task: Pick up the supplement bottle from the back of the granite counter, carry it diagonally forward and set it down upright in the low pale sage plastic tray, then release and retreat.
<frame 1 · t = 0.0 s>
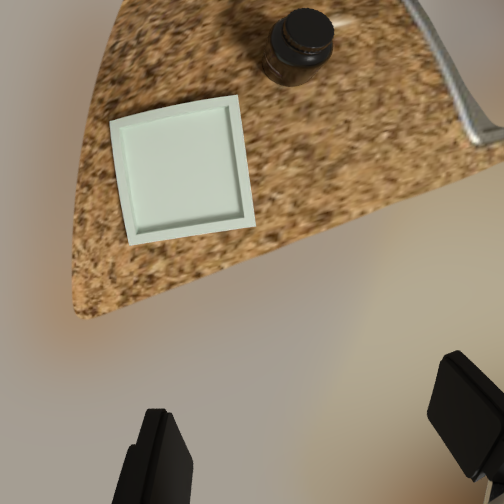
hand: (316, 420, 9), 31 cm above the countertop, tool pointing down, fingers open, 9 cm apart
supplement bottle: (288, 65, 34), on the countertop
sage tray: (181, 170, 36), on the countertop
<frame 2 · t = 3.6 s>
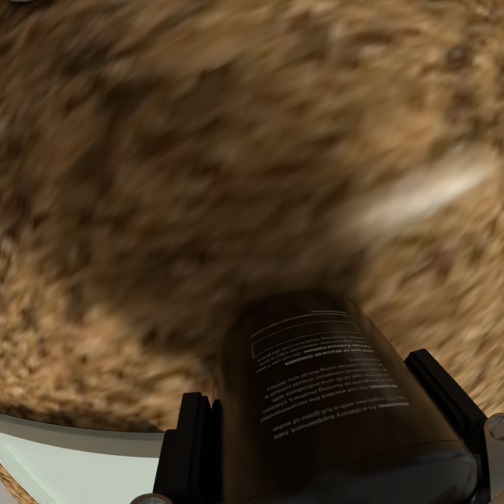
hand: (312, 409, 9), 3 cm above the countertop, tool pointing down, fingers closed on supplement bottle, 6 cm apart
supplement bottle: (296, 355, 13), on the countertop, touching gripper
sage tray: (101, 492, 15), on the countertop
when the fingers open (5 cm above the countertop, at t = 10.4 s): supplement bottle drops 1 cm, resting on sage tray.
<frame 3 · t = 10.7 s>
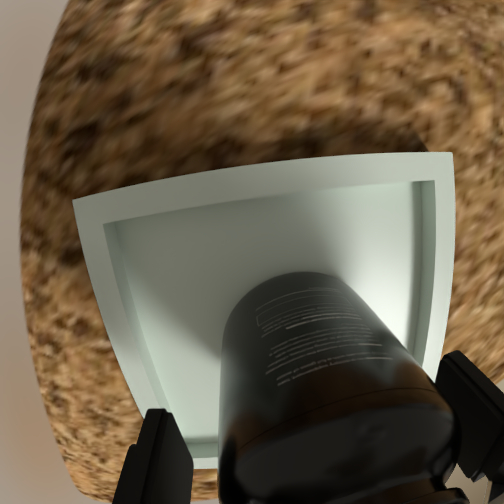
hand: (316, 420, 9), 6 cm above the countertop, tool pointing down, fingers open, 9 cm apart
supplement bottle: (296, 334, 14), resting on sage tray
sage tray: (289, 334, 15), on the countertop
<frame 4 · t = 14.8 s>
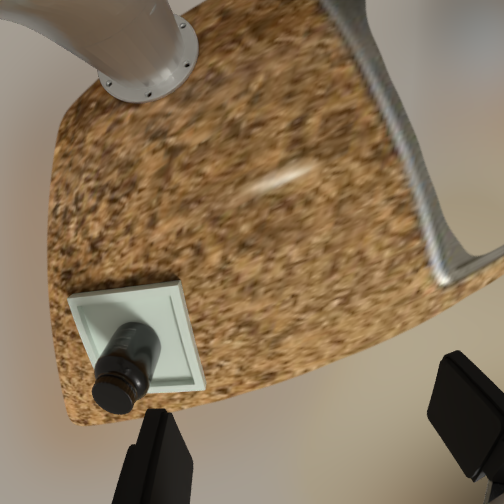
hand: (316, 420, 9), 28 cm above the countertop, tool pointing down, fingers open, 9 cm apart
supplement bottle: (139, 341, 39), resting on sage tray
sage tray: (138, 341, 39), on the countertop
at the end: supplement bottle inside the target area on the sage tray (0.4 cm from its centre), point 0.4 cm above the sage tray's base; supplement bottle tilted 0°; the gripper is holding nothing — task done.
